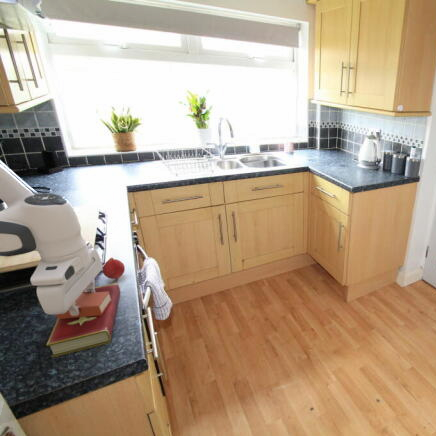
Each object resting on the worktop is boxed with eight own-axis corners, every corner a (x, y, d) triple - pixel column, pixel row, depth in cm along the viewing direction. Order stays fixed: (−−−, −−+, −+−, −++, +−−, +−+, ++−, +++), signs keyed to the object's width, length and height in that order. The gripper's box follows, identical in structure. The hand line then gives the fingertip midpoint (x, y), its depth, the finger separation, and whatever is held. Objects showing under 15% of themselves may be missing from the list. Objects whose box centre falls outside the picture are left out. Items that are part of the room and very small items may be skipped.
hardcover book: (121, 293, 96) (117, 282, 95) (111, 342, 79) (107, 329, 77) (72, 303, 92) (68, 291, 90) (51, 357, 74) (45, 344, 73)
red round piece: (102, 284, 100) (96, 263, 97) (110, 274, 105) (104, 253, 102) (123, 283, 101) (117, 261, 98) (129, 273, 106) (124, 252, 103)
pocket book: (57, 319, 80) (53, 309, 79) (70, 303, 85) (67, 294, 84) (101, 315, 82) (98, 306, 80) (111, 300, 87) (109, 291, 86)
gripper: (75, 239, 86) (90, 281, 92) (24, 284, 68) (46, 333, 73) (101, 238, 87) (114, 280, 93) (57, 282, 69) (77, 330, 74)
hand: (84, 304), depth 83 cm, fingers closed on pocket book, 6 cm apart
